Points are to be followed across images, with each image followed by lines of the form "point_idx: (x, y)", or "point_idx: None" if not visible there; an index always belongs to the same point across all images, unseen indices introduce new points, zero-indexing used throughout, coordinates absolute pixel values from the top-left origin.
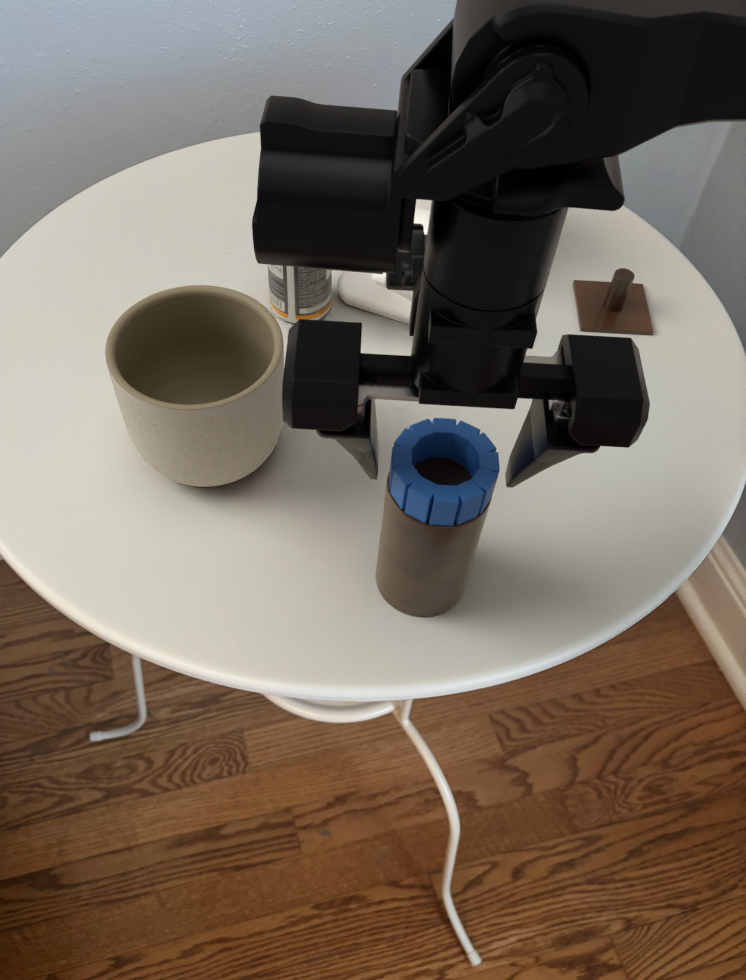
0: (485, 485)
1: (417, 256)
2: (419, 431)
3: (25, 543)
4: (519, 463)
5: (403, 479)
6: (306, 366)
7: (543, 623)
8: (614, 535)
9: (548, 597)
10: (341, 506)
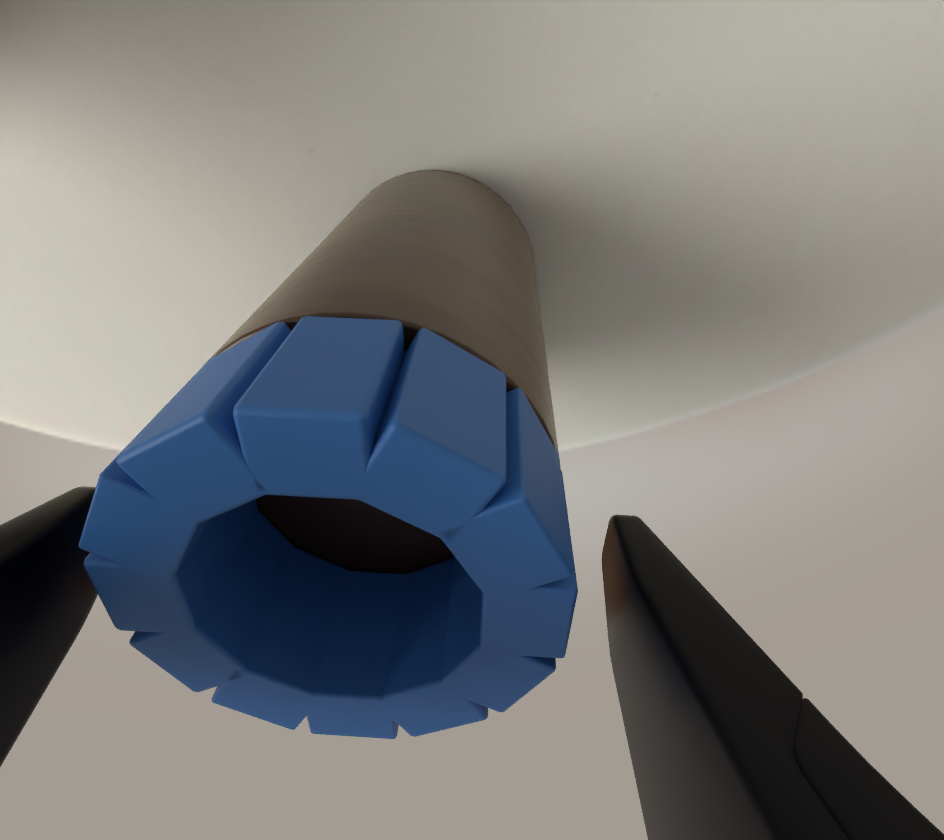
0: (495, 703)
1: None
2: (177, 499)
3: None
4: (644, 755)
5: (182, 677)
6: None
7: (675, 369)
8: None
9: (705, 315)
10: (220, 57)
